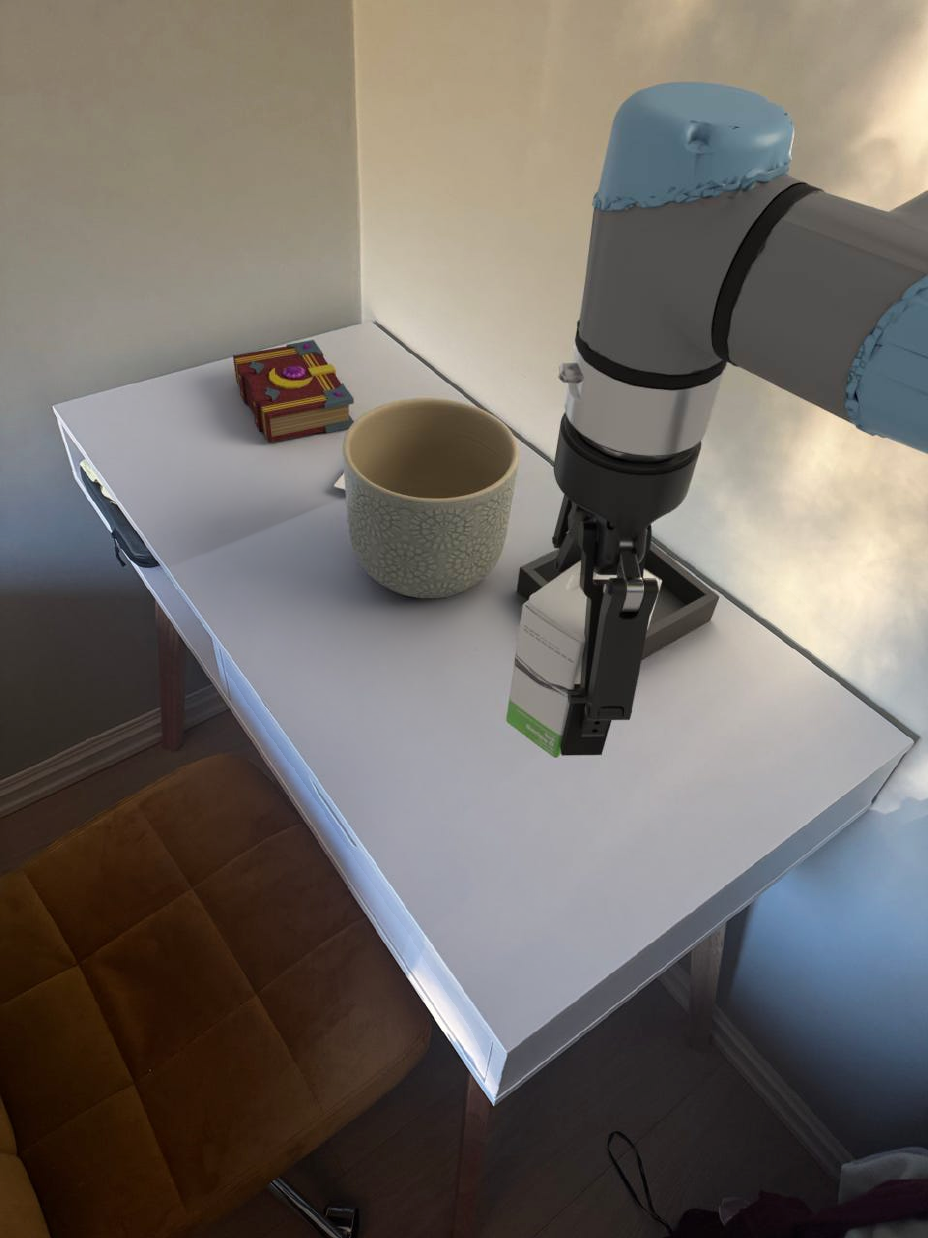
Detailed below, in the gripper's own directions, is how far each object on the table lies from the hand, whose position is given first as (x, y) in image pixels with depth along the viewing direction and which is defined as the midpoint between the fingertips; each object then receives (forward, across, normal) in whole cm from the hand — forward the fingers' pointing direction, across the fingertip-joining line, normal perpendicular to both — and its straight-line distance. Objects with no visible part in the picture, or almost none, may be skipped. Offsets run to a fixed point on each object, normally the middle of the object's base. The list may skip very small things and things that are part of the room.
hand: (570, 694), depth 64 cm
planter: (+17, -32, -9) cm, 38 cm away
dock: (+17, -26, +11) cm, 33 cm away
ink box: (+2, 0, 0) cm, 2 cm away
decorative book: (+17, -62, -25) cm, 70 cm away
